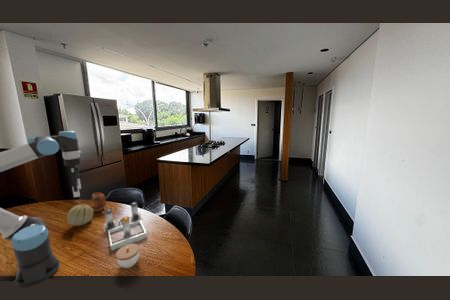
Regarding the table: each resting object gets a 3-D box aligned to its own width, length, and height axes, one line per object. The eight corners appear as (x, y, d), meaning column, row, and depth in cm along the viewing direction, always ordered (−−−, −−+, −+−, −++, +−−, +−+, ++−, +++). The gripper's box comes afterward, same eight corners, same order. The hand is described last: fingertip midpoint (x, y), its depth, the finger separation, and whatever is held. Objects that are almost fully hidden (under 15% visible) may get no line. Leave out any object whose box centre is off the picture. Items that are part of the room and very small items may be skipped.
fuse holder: (143, 221, 134) (142, 216, 133) (104, 234, 120) (103, 228, 119) (140, 215, 141) (139, 210, 141) (103, 226, 127) (102, 221, 127)
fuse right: (139, 218, 134) (137, 203, 132) (133, 220, 132) (131, 205, 130) (137, 216, 138) (136, 201, 135) (132, 218, 135) (130, 203, 133)
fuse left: (114, 226, 125) (111, 210, 123) (107, 228, 123) (104, 212, 120) (113, 223, 128) (111, 208, 126) (106, 225, 126) (104, 209, 124)
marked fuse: (131, 235, 116) (129, 218, 114) (124, 238, 114) (122, 220, 112) (130, 232, 120) (128, 215, 117) (123, 234, 117) (121, 217, 115)
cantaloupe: (63, 228, 125) (59, 209, 123) (84, 217, 139) (81, 199, 137) (80, 231, 122) (76, 211, 119) (99, 219, 136) (96, 201, 133)
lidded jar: (143, 255, 101) (142, 240, 99) (135, 271, 90) (133, 255, 89) (124, 256, 101) (122, 241, 99) (113, 272, 90) (110, 256, 88)
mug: (90, 210, 149) (88, 193, 146) (101, 206, 156) (98, 189, 154) (100, 214, 143) (98, 197, 140) (111, 210, 150) (109, 193, 147)
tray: (147, 237, 116) (146, 232, 115) (111, 251, 104) (110, 245, 104) (140, 224, 130) (140, 220, 129) (108, 235, 118) (107, 230, 118)
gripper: (78, 161, 97) (84, 198, 101) (81, 153, 117) (86, 184, 121) (60, 163, 92) (67, 202, 96) (66, 155, 112) (71, 187, 116)
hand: (77, 192), depth 108 cm, fingers open, 13 cm apart
